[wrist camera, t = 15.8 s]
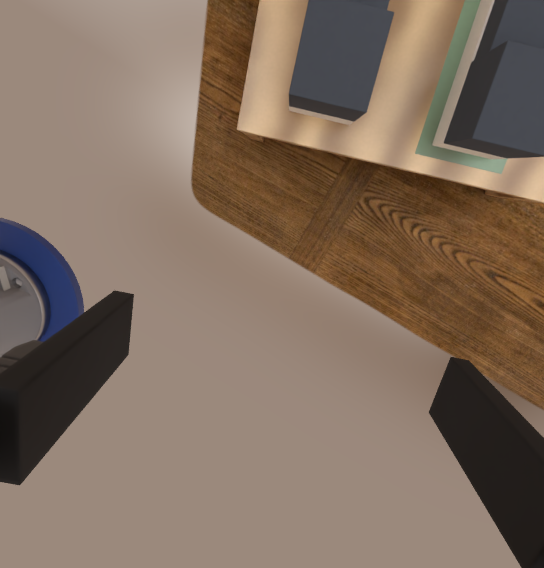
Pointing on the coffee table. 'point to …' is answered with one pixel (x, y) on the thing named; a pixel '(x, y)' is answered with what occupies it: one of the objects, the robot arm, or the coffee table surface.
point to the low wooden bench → (382, 98)
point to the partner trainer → (339, 58)
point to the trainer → (499, 85)
